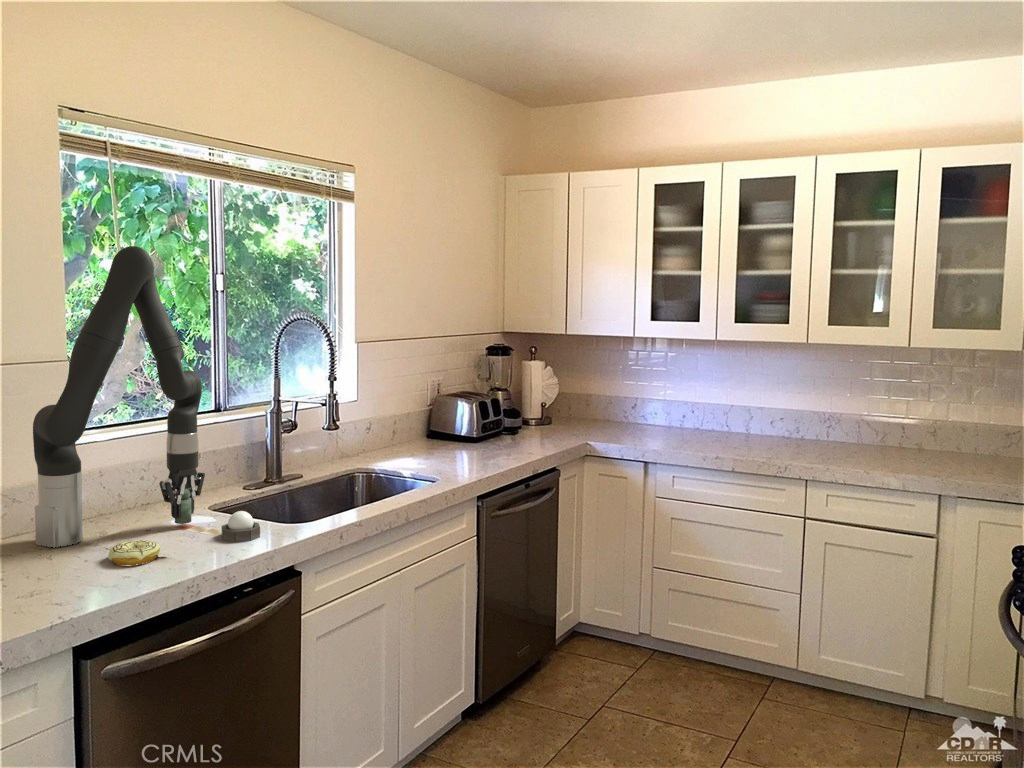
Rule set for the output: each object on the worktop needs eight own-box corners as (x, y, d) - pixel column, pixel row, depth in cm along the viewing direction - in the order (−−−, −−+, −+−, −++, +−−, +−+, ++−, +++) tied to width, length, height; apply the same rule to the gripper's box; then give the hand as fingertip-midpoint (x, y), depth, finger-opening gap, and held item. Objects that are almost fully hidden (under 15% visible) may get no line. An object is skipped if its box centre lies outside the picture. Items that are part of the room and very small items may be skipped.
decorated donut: (100, 567, 185) (99, 551, 185) (122, 552, 196) (122, 536, 195) (147, 569, 185) (146, 552, 185) (166, 553, 196) (166, 538, 195)
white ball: (242, 539, 203) (242, 515, 202) (222, 536, 205) (222, 512, 204) (258, 533, 208) (258, 510, 208) (239, 530, 210) (239, 507, 210)
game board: (242, 549, 200) (242, 534, 200) (161, 535, 209) (161, 520, 209) (268, 538, 210) (268, 523, 209) (189, 525, 219) (189, 511, 218)
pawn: (182, 524, 210) (182, 489, 209) (171, 522, 212) (170, 487, 211) (194, 521, 214) (194, 486, 213) (183, 518, 215) (183, 484, 214)
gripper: (173, 455, 203) (174, 524, 205) (213, 446, 216) (214, 511, 218) (149, 452, 205) (150, 520, 207) (190, 443, 219) (191, 507, 221)
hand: (183, 515), depth 213 cm, fingers closed on pawn, 4 cm apart
